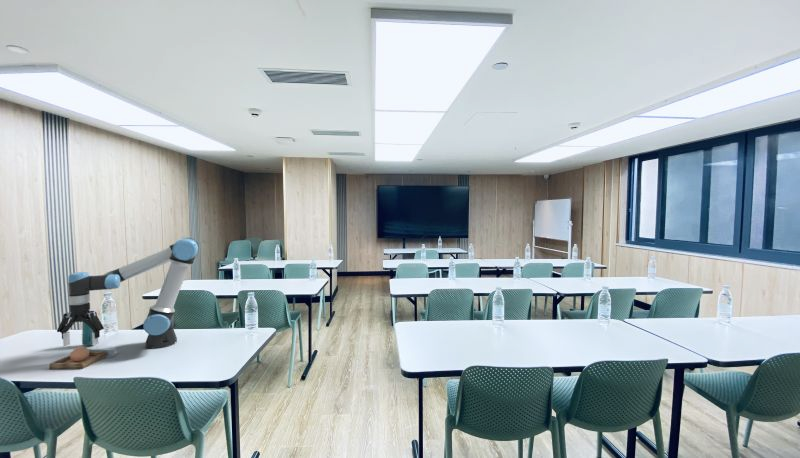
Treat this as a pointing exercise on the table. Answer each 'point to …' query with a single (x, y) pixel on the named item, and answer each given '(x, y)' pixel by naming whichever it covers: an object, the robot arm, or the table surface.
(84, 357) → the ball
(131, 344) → the table surface
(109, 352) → the acrylic divider
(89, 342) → the beverage bottle
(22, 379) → the table surface
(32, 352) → the table surface
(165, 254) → the robot arm
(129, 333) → the table surface
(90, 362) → the walnut tray
